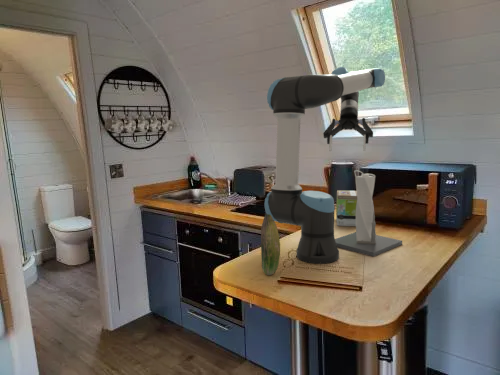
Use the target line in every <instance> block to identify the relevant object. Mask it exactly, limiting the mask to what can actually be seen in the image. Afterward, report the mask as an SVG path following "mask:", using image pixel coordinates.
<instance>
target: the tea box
mask: <svg viewBox="0 0 500 375" xmlns="http://www.w3.org/2000/svg"><path fill="white" fill-rule="evenodd" d="M335 204H336V205H335V206H336V207H335V208H336V210H335V211H336V213H335V214H336V216H335V218H336V226H340V227H356V204H357V191H356V190H337V191H336V203H335Z"/></svg>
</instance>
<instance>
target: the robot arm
mask: <svg viewBox="0 0 500 375" xmlns="http://www.w3.org/2000/svg"><path fill="white" fill-rule="evenodd" d="M385 80H386V74H385V70H384V69H383V68H382V67H376V68H375V67H374V68H368V69H367V68H366V69H361V70H351V71H348V69H347V68H346V67H344V66H339V67H337V68H335V69H333V70H332V71H331V73H330V74H305V75H297V76H287V77H286V76H284V77H283V78H282V77H281V78H278V79H275V80H273V82H272V83H271V84H270V85H269V87H268V90H267V95H266V100H267V104H268V107H269V109H271V110H272V111H273V112H272V115H273V116H274V118H276V120H277V121H276V148H275V149H276V152H275V153H276V156H275V184H274V185H273V186H272V187H271V188H270V189H271V191H270V192H268V193H267V194H266V197H265V199H264V210H265V215H266V214H270V215H271V216H272V218H273V220H274V221H275V223H276V222H277V223H280V224H287V225H291V226H292V225H293V226H298V227H300V228H301V229H300V230H301V231H300V233H301V234H300V235H301V236H300V239H299V242H298V245H297V248H296V258H297V259H298V260H300V261H301V262H305V263H309V264H329V263H335V262H336V261H338V260H339V258H340V251H339V247H337V244H336V241H335V239H336V238H335V211H336V210H335V208H336V207H335V200H334V197H333V196H332V195H331V194H329V193H327V192H324V191H319V190H304V191H303V188H302V186H301V185H300V183H299V175H300V173H299V172H300V170H299V169H300V146H301V145H300V143H301V142H300V141H301V139H300V138H301V121H302V118H304V116H305V115H306V114H305V112H306V109H307V110H309V109H314V108H318V107H322V106H324V105H327V104H329V103H330V104H331V103H333V102H336V101H338V100H340V113H339V114H340V115H339V119H338V120H336V118H332V119H331V123H330V124H329V125H328V127H327V128H326V129H325V130H324V132H323V133H322V135H323V138H324V139H326V143H327V145H329V147H328V149H329V152H331V151H332V147H333V146H332V145H333V137H334V136H336V135H338V133H339V132H342V131H343V130H345V131H346V130H354V131H355V132H358V133H359V134H360V135H361V136H362V137H363V145H362V146H363V152H366V144H369V138H373V137H374V131H373V130H372V128H371V127H370V126H369V125H368V123H367V121H366V118H365V117H363V118H362V119H359V118H358V117H359V97H360V96H359V95H360V91H363V90H367V89H371V88H375V89H376V88H379V87H383V86H384V84H385V82H386V81H385ZM359 124H360V125H361V126H360V125H359Z"/></svg>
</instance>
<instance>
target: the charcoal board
mask: <svg viewBox="0 0 500 375" xmlns="http://www.w3.org/2000/svg"><path fill="white" fill-rule="evenodd" d="M375 238H376V244H358V243H357V235H356V231H355V232H352V233H349V234H346V235H343V236H340V237H336V238H335V241H336V244H337V248H338V249H339V248H341V249H343V250H346V251H347V250H348V251H351V252H355V253H359V254H361V255H367V256H370V257H376V256H378V255H381V254H383V253H386V252H388V251H390V250H392V249H394V248H397V247H399V246H402V245H403V240H400V239H398V238H397V239H395V238H391V237H387V236H383V235H378V234H376V237H375Z"/></svg>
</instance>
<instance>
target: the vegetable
mask: <svg viewBox="0 0 500 375" xmlns="http://www.w3.org/2000/svg"><path fill="white" fill-rule="evenodd" d="M260 231H261V232H260V249H261V250H260V251H261V252H260V253H261V255H260V256H261V270H262V272H263V273H264V274H265V275H267V276H272V275H273V274H275V273H276V271H277V269H278V267H279V263H280V257H281V242H280V241H281V240H280V235H279V230H278V226H277V223H276V221H274V220H273V218H272V216H271V215H270V214H266V213H265V215H264V216H263V221H262V223H261V228H260Z"/></svg>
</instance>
